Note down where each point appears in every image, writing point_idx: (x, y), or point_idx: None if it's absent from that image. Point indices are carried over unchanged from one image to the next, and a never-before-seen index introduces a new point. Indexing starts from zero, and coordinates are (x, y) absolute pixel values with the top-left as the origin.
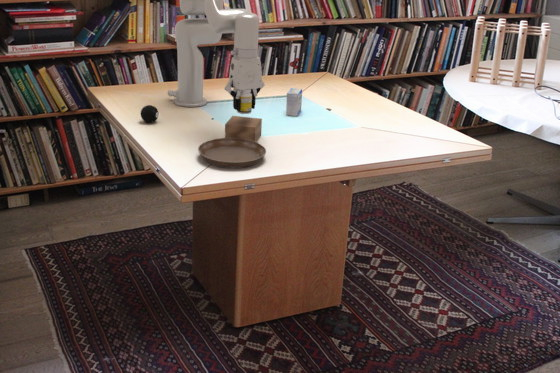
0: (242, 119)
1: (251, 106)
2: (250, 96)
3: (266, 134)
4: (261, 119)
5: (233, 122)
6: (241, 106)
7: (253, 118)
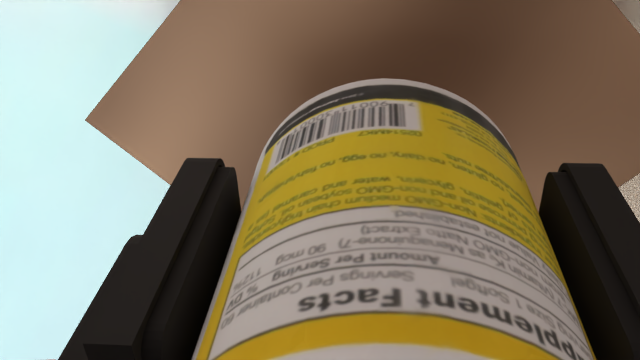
0: None
1: (264, 179)
2: (293, 352)
3: (93, 52)
4: (98, 103)
5: (546, 141)
6: (538, 217)
7: None
